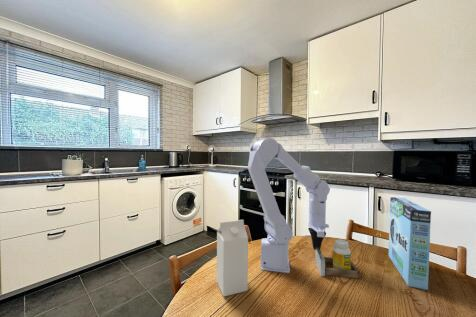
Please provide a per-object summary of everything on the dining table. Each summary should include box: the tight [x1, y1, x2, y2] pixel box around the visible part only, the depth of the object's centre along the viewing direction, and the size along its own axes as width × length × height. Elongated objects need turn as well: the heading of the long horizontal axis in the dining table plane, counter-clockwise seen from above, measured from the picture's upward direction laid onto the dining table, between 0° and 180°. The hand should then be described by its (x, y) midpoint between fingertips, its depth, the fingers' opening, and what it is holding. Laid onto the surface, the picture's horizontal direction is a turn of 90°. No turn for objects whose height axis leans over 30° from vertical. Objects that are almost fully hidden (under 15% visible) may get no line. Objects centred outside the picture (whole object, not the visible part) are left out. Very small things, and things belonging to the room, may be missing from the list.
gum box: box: [388, 197, 432, 291], centre depth 66 cm, size 20×5×23 cm, turn 157°
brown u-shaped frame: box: [323, 256, 361, 280], centre depth 67 cm, size 10×8×2 cm
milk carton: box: [216, 219, 249, 297], centre depth 58 cm, size 7×7×19 cm
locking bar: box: [314, 247, 326, 278], centre depth 67 cm, size 1×10×5 cm, turn 168°
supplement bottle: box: [332, 238, 352, 270], centre depth 67 cm, size 5×5×10 cm
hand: (316, 249), depth 73 cm, fingers closed
